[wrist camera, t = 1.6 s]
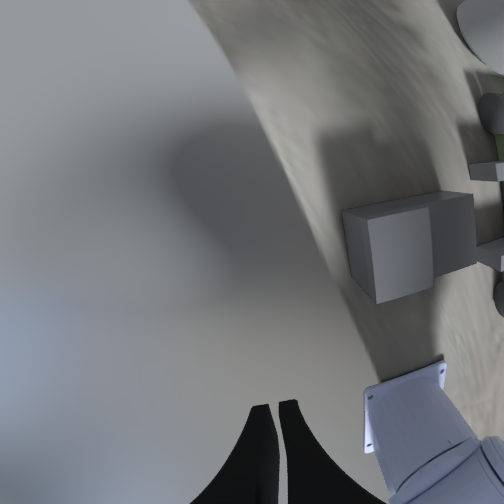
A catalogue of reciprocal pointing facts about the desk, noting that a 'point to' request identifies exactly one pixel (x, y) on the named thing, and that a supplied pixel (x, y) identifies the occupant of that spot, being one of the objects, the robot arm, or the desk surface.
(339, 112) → the desk surface
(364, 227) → the grey rectangular box
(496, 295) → the deck
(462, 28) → the can
